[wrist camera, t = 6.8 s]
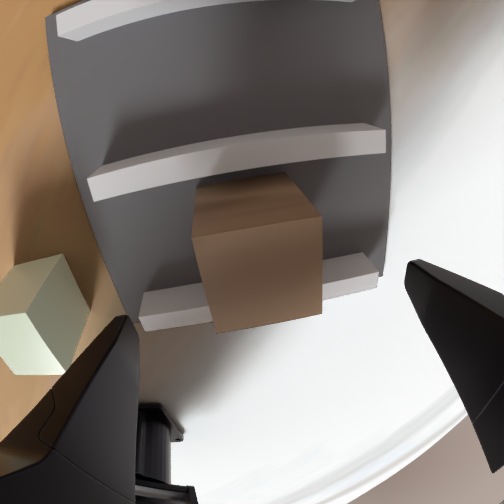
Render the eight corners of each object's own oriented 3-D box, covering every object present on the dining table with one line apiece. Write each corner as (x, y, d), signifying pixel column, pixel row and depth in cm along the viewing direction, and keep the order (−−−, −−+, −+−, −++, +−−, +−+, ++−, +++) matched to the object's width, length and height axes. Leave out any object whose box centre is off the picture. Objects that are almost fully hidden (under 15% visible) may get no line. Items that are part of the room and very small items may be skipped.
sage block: (90, 310, 17) (67, 374, 12) (42, 316, 16) (15, 374, 12) (63, 253, 15) (25, 312, 10) (14, 265, 14) (-26, 319, 10)
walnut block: (291, 248, 16) (322, 313, 11) (212, 262, 16) (216, 333, 11) (285, 172, 14) (321, 216, 9) (196, 186, 13) (191, 238, 9)
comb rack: (379, 272, 18) (398, 296, 16) (132, 318, 17) (126, 348, 15) (369, -27, 9) (393, -40, 7) (48, 18, 8) (23, 11, 6)
